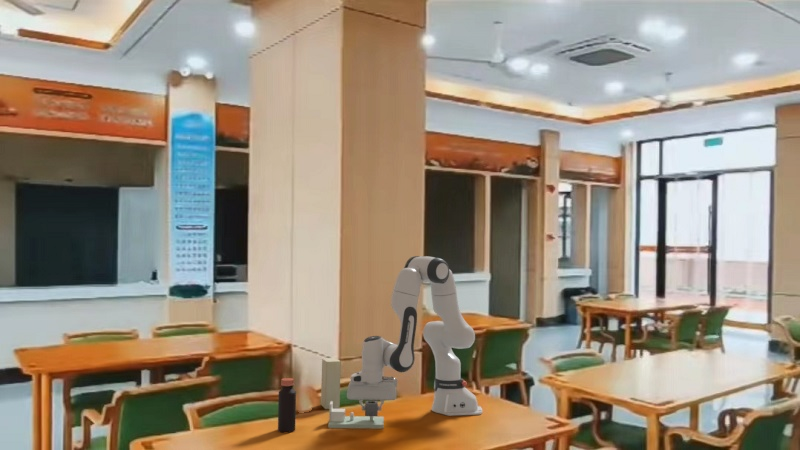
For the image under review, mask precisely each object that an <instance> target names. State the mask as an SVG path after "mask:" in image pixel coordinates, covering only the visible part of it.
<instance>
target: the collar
mask: <svg viewBox="0 0 800 450" xmlns="http://www.w3.org/2000/svg"><path fill="white" fill-rule="evenodd" d="M364 405H365V411H364V415H365V416H374V417H378V415H379V411H378V406H379V400H365V404H364Z"/></svg>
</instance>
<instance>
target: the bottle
mask: <svg viewBox="0 0 800 450" xmlns="http://www.w3.org/2000/svg"><path fill="white" fill-rule="evenodd" d="M294 384H295V379H294V378H292V377H286V378H285V377H284V378H281V379H280V385H281V389H280V390H279V391H278V409H277V413H278V414H277V431H278V432H279V431H280V433H284V432H288V433H292V432H294V431H296V418H297V417H296V414H297V412H296V411H297V409H296V408H297V406H296V405H297V392H296V390H295V389H294Z"/></svg>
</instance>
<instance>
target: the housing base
mask: <svg viewBox="0 0 800 450" xmlns="http://www.w3.org/2000/svg"><path fill="white" fill-rule="evenodd" d="M354 414H355V413H354V412H353V411H351V412H349V415H345V419H344V422H335V421H329V420H328V427H327V428H328V429H374V430H375V429H380V430H381V429H384V423H385V416H363V415H362V416H359V415H358V416H357V415H356V416H355V415H354Z"/></svg>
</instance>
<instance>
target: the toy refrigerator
mask: <svg viewBox="0 0 800 450" xmlns="http://www.w3.org/2000/svg"><path fill="white" fill-rule="evenodd" d="M341 363H342V362H341V360H339V358H337V357H330V358H329V357H327V358H325V357H324V358H322V361H321V387H320V388H321V389H320V390H321V391H320V392H321V393H320V395H321V396H320V406H322V407H323V409H325V410H329V408H330V402H331V401H333V409H340V406H341V404H340V402H341V401H340V400H341V398H340V397H341Z"/></svg>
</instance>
